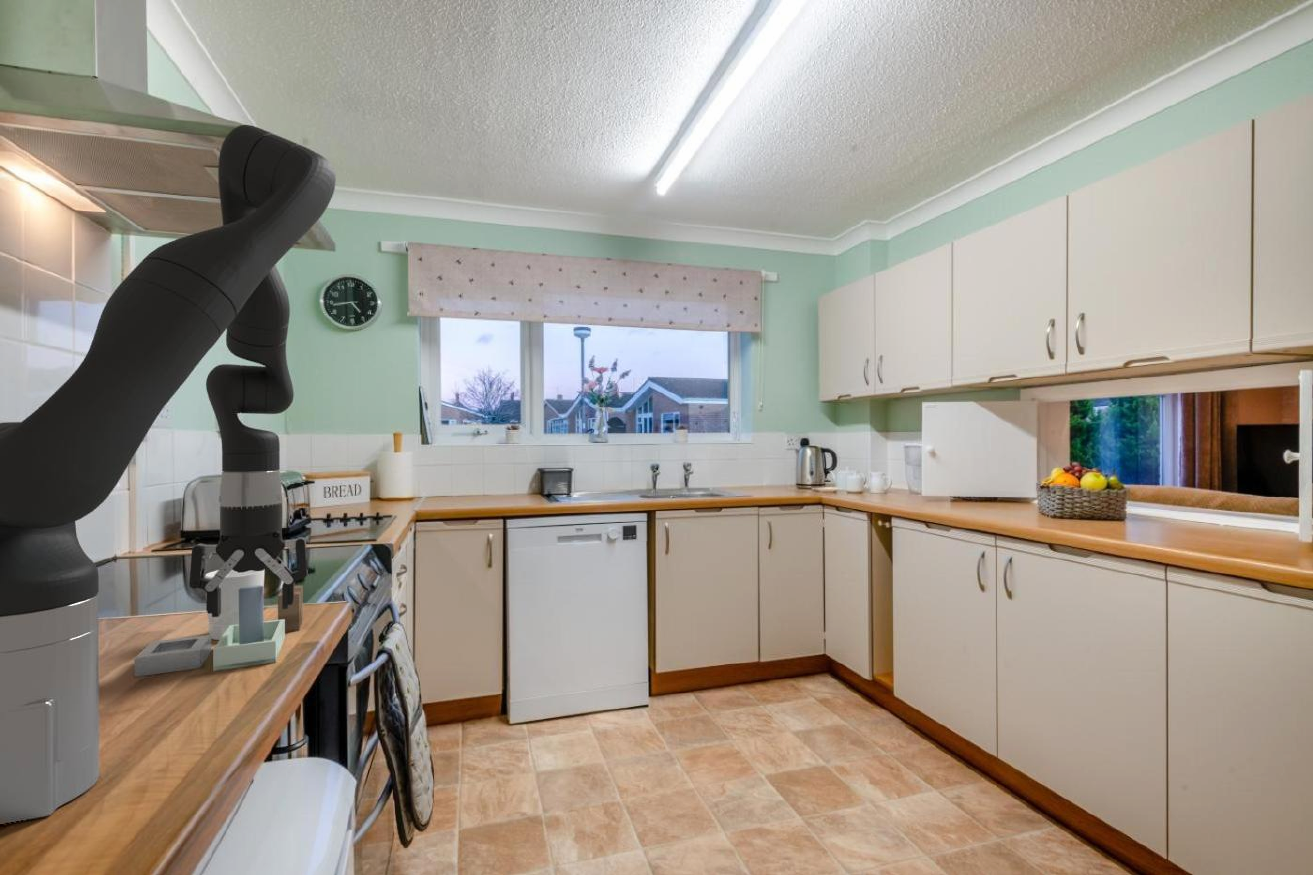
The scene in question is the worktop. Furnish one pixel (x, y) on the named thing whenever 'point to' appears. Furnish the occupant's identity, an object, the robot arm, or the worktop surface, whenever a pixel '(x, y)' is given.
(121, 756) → the worktop surface
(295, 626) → the walnut block
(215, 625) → the white cup
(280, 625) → the pale green tray
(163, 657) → the gray tray
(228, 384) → the robot arm
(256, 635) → the slate-blue dowel
